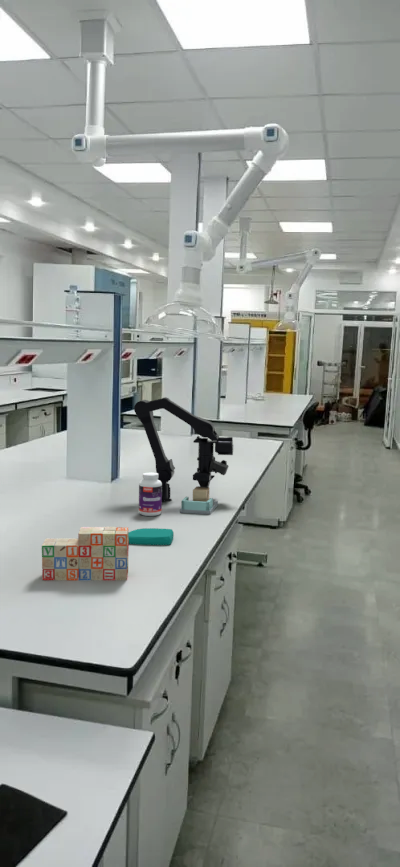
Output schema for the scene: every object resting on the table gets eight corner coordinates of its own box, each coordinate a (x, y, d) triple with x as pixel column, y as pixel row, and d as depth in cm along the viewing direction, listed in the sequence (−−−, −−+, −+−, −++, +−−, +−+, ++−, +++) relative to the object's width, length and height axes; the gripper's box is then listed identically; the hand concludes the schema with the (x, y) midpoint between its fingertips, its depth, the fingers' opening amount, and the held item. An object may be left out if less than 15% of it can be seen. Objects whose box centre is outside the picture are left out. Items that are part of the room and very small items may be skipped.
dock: (210, 514, 229) (210, 502, 229) (179, 512, 231) (180, 500, 231) (217, 504, 244) (218, 493, 243) (189, 502, 246) (189, 491, 245)
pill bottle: (141, 517, 224) (141, 476, 222) (137, 511, 232) (136, 472, 230) (164, 516, 226) (164, 475, 224) (159, 510, 234) (159, 471, 232)
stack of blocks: (41, 581, 162) (40, 533, 161) (46, 572, 169) (45, 526, 167) (127, 580, 164) (127, 533, 162) (129, 572, 170) (128, 526, 168)
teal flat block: (170, 547, 192) (88, 545, 194) (174, 537, 203) (97, 535, 205) (170, 537, 192) (88, 536, 194) (174, 527, 202) (97, 526, 204)
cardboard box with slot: (206, 505, 237) (206, 490, 236) (192, 504, 238) (192, 489, 237) (209, 501, 243) (209, 486, 242) (196, 501, 244) (196, 486, 243)
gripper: (222, 459, 235) (222, 501, 237) (230, 451, 253) (230, 490, 255) (192, 458, 237) (192, 499, 239) (202, 450, 255) (202, 489, 257)
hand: (205, 494), depth 248 cm, fingers closed
